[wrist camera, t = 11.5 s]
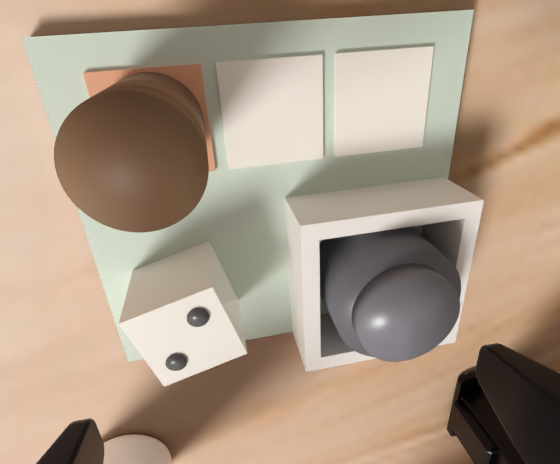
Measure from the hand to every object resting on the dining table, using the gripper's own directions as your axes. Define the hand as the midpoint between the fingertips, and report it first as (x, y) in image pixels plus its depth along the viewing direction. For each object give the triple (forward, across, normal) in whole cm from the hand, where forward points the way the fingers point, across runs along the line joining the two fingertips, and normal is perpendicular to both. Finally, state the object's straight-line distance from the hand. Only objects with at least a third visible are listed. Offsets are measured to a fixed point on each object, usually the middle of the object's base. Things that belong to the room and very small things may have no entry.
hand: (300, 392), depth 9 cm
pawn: (+11, +4, -4) cm, 12 cm away
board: (+12, -1, 0) cm, 12 cm away
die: (+11, +4, +4) cm, 12 cm away
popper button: (+11, -6, +4) cm, 13 cm away
